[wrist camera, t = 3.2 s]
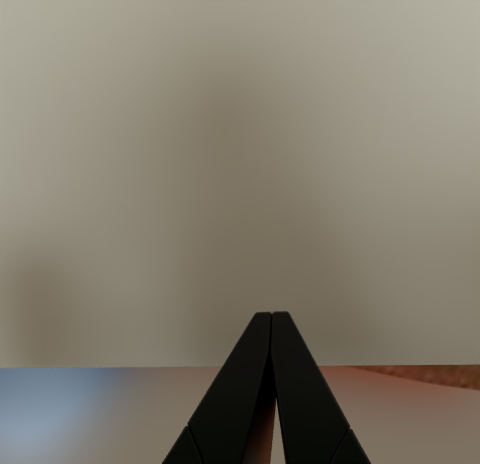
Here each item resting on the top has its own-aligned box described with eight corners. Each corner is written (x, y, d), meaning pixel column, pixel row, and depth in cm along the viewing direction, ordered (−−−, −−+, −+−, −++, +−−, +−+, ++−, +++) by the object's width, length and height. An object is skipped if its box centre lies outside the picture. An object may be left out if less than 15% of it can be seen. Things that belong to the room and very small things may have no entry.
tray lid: (-20, 360, 13) (-41, 368, 12) (-26, -12, 13) (-46, -28, 13) (685, 352, 9) (721, 362, 9) (624, -137, 10) (651, -169, 9)
